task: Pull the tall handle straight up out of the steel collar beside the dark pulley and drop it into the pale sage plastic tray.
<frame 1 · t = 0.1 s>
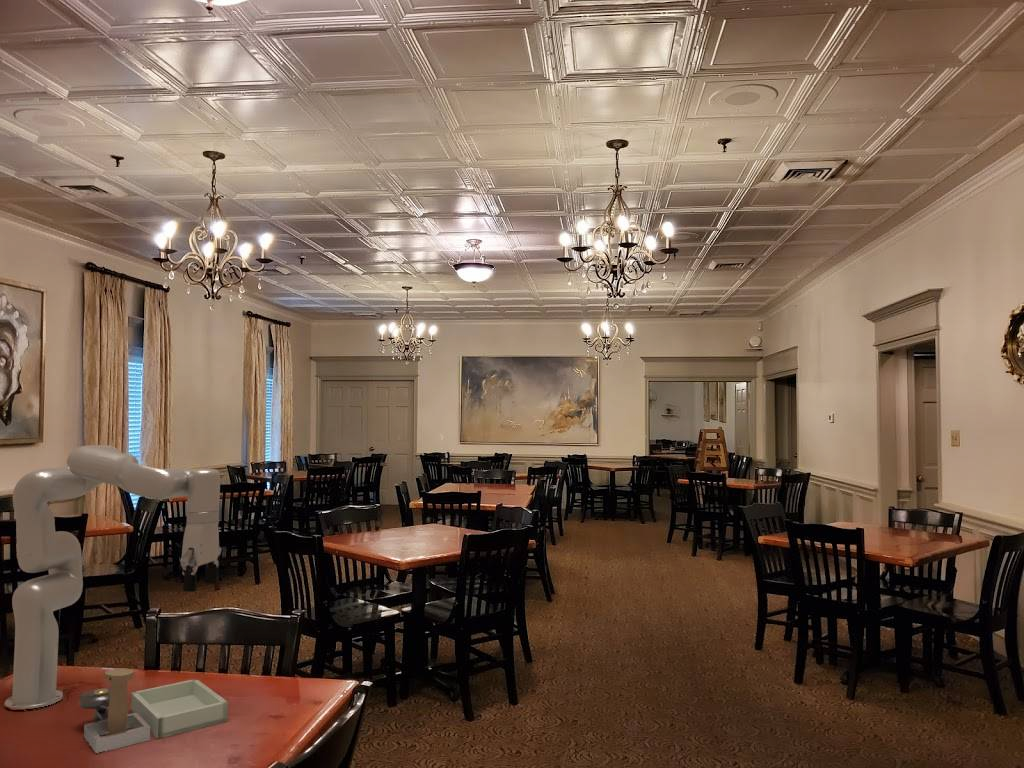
hand: (200, 586, 186), 31 cm above the table, tool pointing down, fingers open, 9 cm apart
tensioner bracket: (116, 738, 169), on the table
tray: (178, 716, 183), on the table
handle: (116, 739, 169), resting in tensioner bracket
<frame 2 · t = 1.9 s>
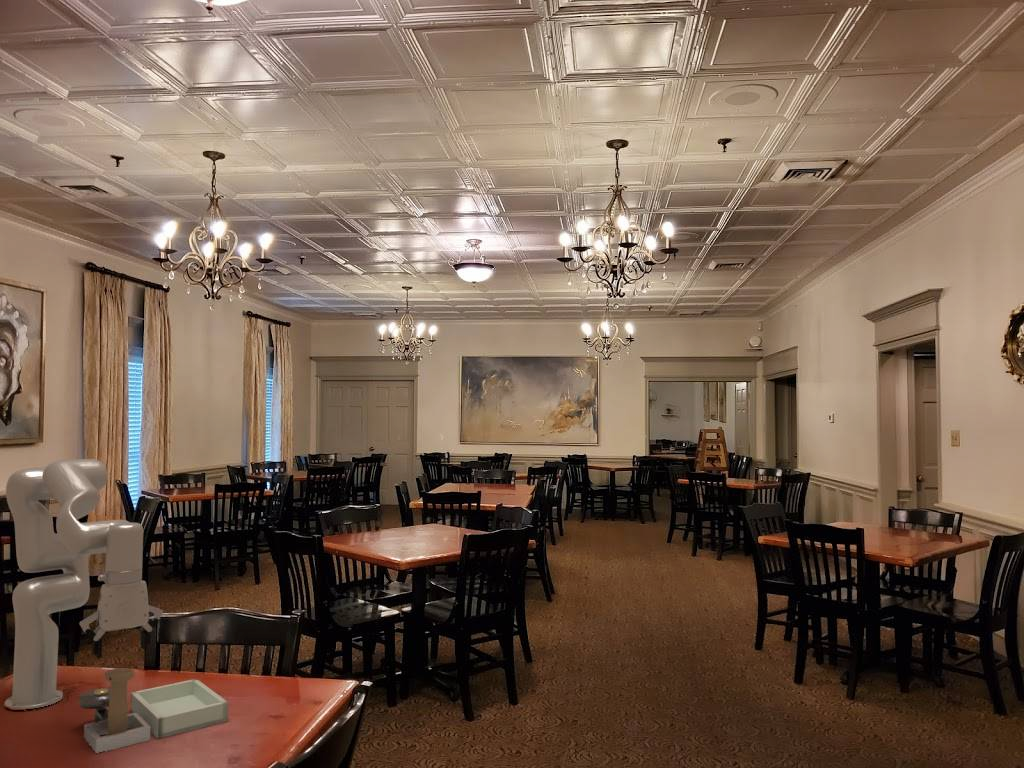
hand: (121, 652, 170), 19 cm above the table, tool pointing down, fingers open, 9 cm apart
nothing on the table moved.
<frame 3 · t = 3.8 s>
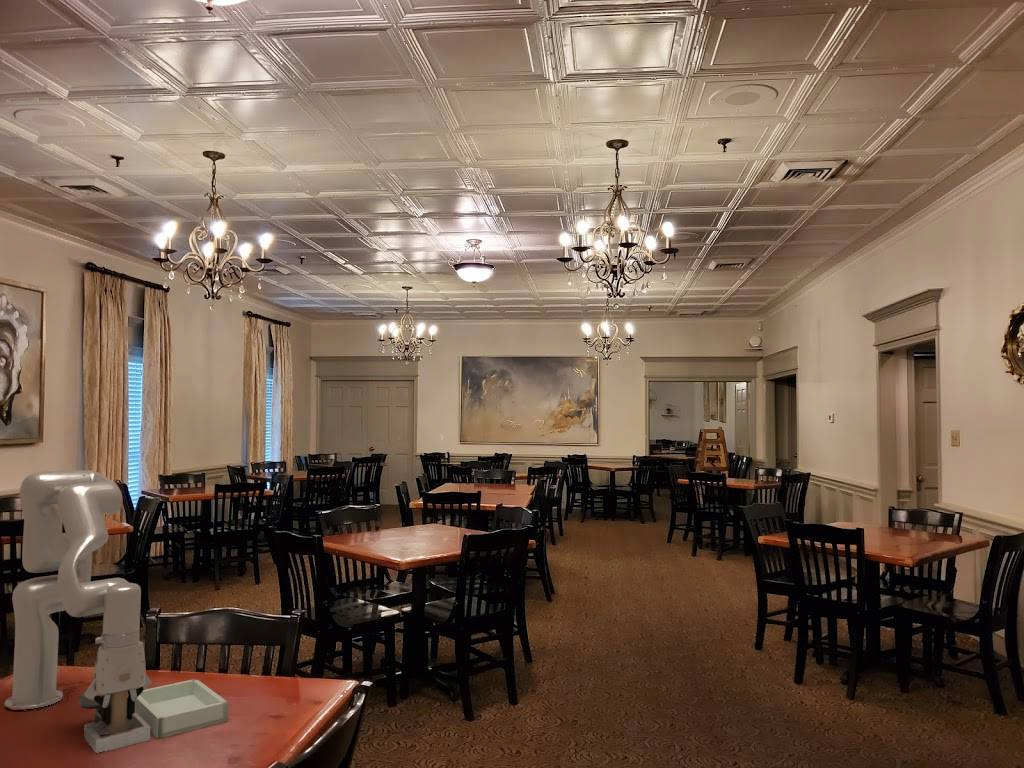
hand: (117, 719, 170), 4 cm above the table, tool pointing down, fingers closed on handle, 4 cm apart
handle: (116, 739, 169), resting in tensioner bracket, touching gripper
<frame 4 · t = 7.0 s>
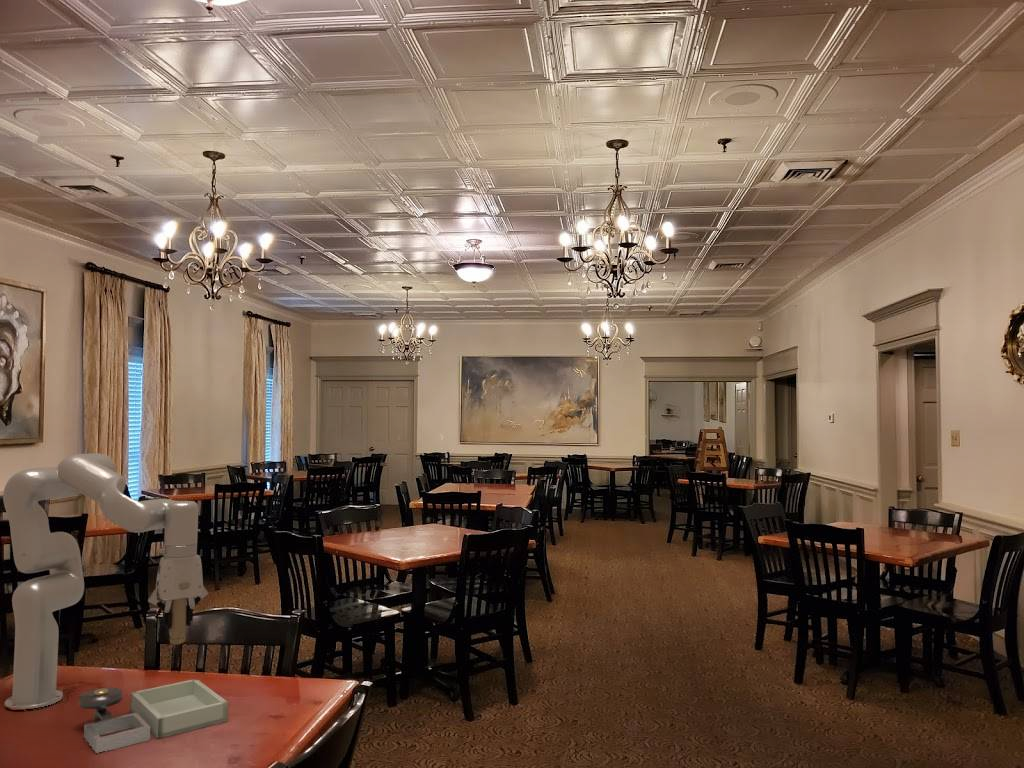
hand: (177, 625, 184), 22 cm above the table, tool pointing down, fingers closed on handle, 4 cm apart
handle: (176, 644, 183), point 18 cm above the table, touching gripper
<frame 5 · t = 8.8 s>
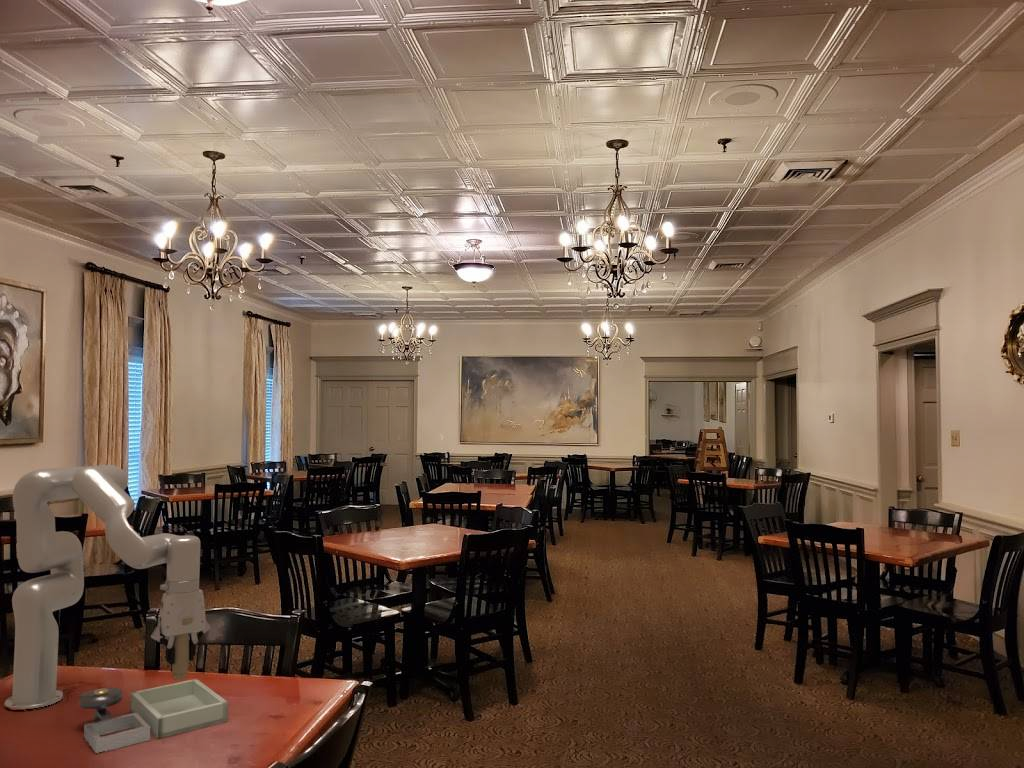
hand: (180, 660, 184), 13 cm above the table, tool pointing down, fingers closed on handle, 4 cm apart
handle: (179, 679, 184), point 9 cm above the table, touching gripper
when the fingers open (8 cm above the table, at t = 10.2 s): handle drops 2 cm, resting on tray.
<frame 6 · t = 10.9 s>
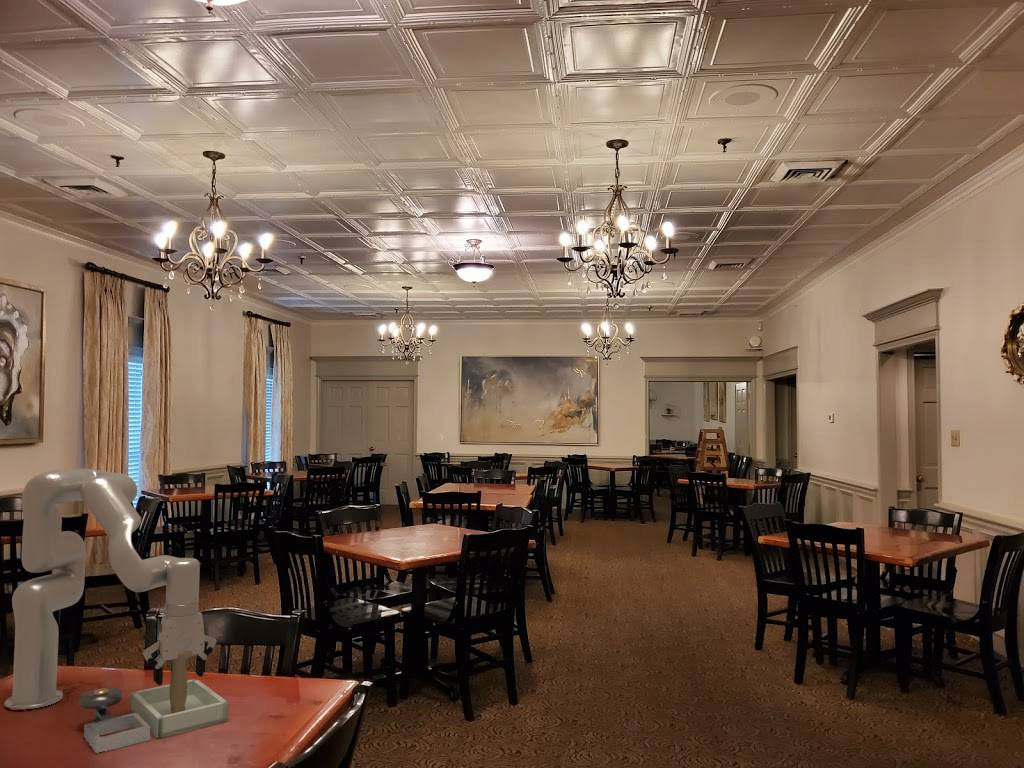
hand: (179, 679, 184), 9 cm above the table, tool pointing down, fingers open, 9 cm apart
handle: (177, 712, 183), point 1 cm above the table, touching tray
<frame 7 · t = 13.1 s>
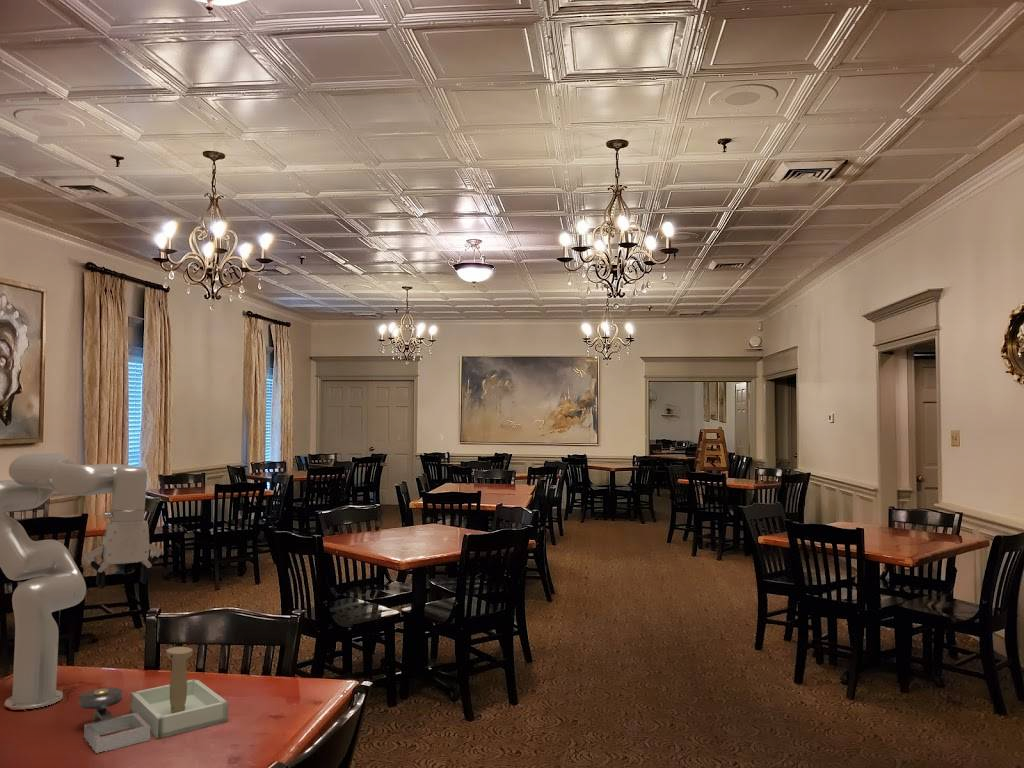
hand: (122, 585, 185), 32 cm above the table, tool pointing down, fingers open, 9 cm apart
nothing on the table moved.
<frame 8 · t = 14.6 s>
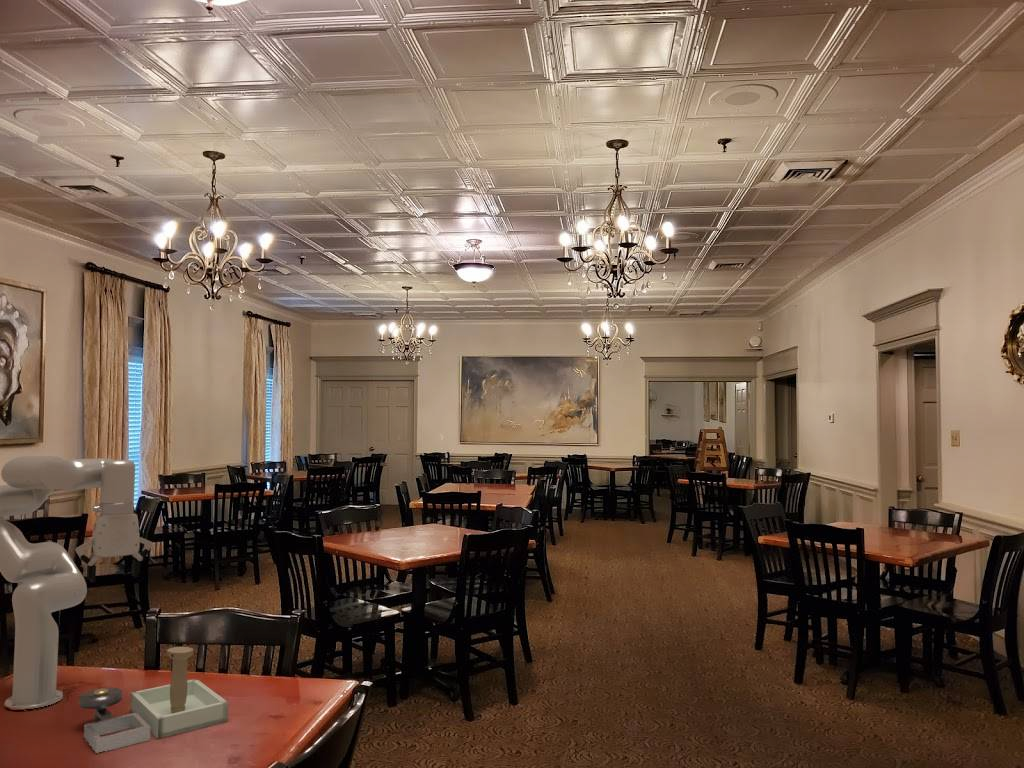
hand: (113, 578, 185), 33 cm above the table, tool pointing down, fingers open, 9 cm apart
nothing on the table moved.
at the end: handle inside the target area on the tray (0.1 cm from its centre), point 0.8 cm above the tray's base; handle moved 15.8 cm from its start; the gripper is holding nothing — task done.
